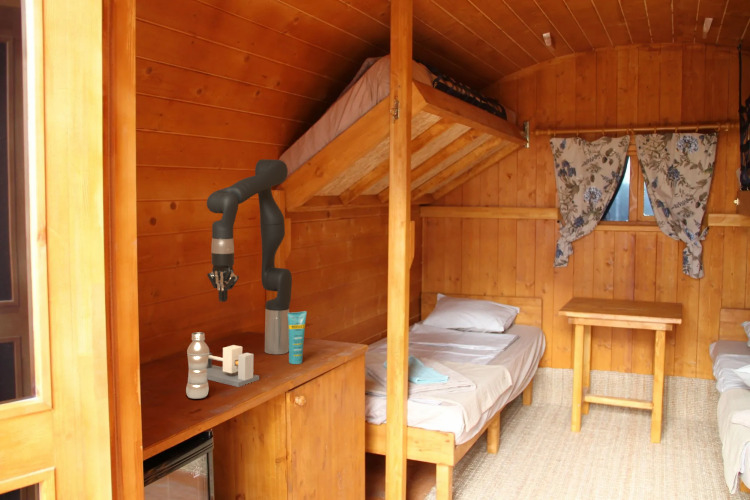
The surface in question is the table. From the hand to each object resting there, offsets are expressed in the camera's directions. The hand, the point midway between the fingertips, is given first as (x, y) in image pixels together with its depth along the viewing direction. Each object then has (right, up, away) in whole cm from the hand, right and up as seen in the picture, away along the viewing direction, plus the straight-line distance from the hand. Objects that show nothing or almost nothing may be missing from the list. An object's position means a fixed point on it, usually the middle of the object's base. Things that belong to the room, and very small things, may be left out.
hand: (223, 301), depth 229 cm
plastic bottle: (-2, -28, -26) cm, 38 cm away
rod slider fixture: (+1, -26, -4) cm, 26 cm away
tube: (+23, -24, +18) cm, 38 cm away
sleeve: (+5, -23, -6) cm, 24 cm away
